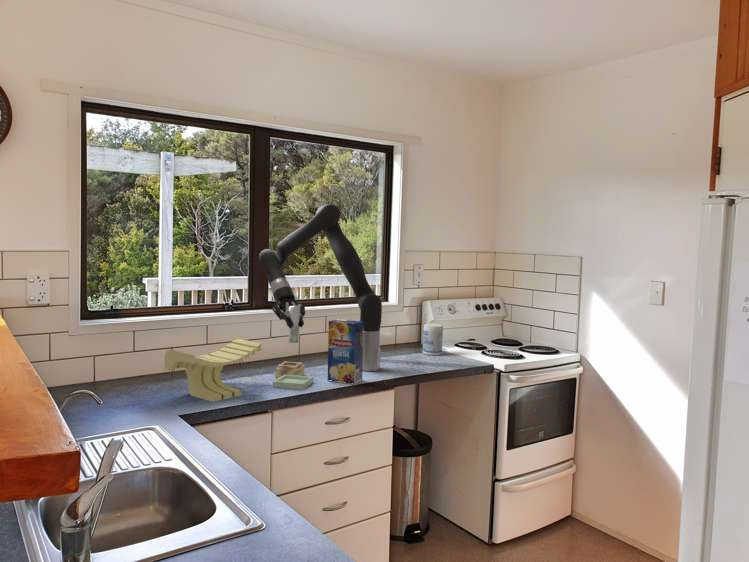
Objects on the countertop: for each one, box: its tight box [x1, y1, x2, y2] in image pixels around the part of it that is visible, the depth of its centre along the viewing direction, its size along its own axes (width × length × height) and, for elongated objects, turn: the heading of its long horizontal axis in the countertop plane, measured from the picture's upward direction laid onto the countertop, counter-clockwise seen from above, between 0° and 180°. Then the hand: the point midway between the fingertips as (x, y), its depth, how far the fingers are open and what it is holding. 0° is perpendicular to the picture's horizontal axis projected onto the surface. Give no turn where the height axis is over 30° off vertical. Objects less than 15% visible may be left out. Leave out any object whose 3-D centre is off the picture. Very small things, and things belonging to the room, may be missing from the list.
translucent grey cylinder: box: [288, 305, 300, 344], centre depth 237 cm, size 4×4×14 cm
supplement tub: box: [422, 323, 444, 357], centre depth 305 cm, size 10×10×15 cm
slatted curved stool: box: [164, 338, 262, 402], centre depth 222 cm, size 30×16×18 cm, turn 141°
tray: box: [272, 375, 314, 390], centre depth 238 cm, size 12×12×2 cm
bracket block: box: [275, 361, 305, 379], centre depth 251 cm, size 9×9×5 cm
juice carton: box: [327, 318, 364, 385], centre depth 246 cm, size 12×8×24 cm, turn 65°
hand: (296, 326), depth 235 cm, fingers closed on translucent grey cylinder, 4 cm apart
